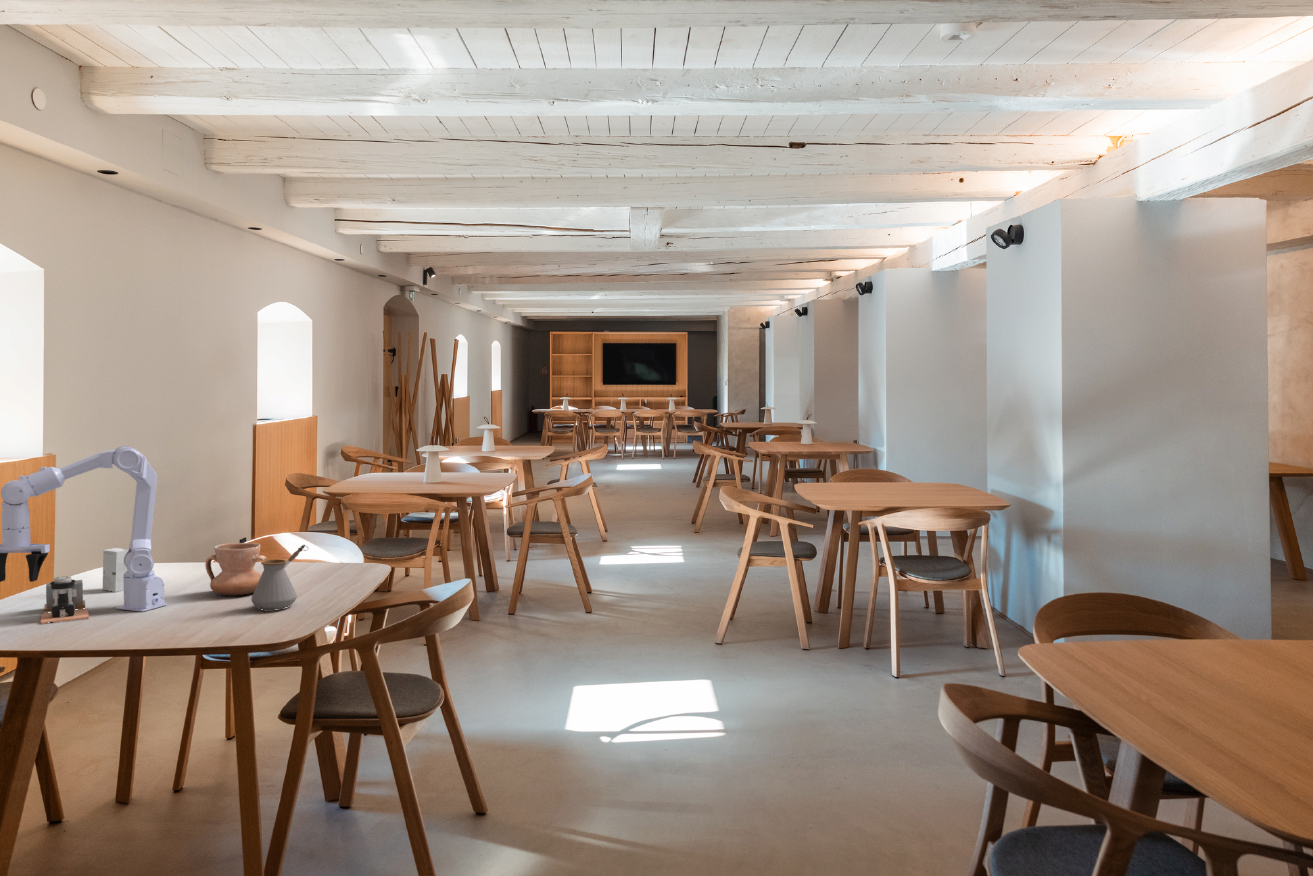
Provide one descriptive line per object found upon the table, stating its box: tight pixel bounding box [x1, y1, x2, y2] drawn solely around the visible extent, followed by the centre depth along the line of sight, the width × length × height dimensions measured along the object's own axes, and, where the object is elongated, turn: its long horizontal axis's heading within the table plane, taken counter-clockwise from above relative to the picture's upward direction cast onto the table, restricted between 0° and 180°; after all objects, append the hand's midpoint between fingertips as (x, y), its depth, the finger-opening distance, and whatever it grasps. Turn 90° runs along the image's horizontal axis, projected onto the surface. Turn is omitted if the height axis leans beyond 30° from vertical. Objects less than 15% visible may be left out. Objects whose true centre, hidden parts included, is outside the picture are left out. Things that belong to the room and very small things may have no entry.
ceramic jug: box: [204, 542, 267, 597], centre depth 247 cm, size 18×14×14 cm
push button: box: [43, 575, 75, 618], centre depth 216 cm, size 7×5×10 cm
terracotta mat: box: [40, 607, 90, 625], centre depth 218 cm, size 10×10×1 cm
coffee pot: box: [250, 544, 309, 610], centre depth 235 cm, size 21×12×15 cm, turn 172°
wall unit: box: [43, 579, 86, 613], centre depth 226 cm, size 6×9×7 cm, turn 125°
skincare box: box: [102, 547, 129, 593], centre depth 249 cm, size 6×4×12 cm
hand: (17, 581), depth 213 cm, fingers open, 7 cm apart
